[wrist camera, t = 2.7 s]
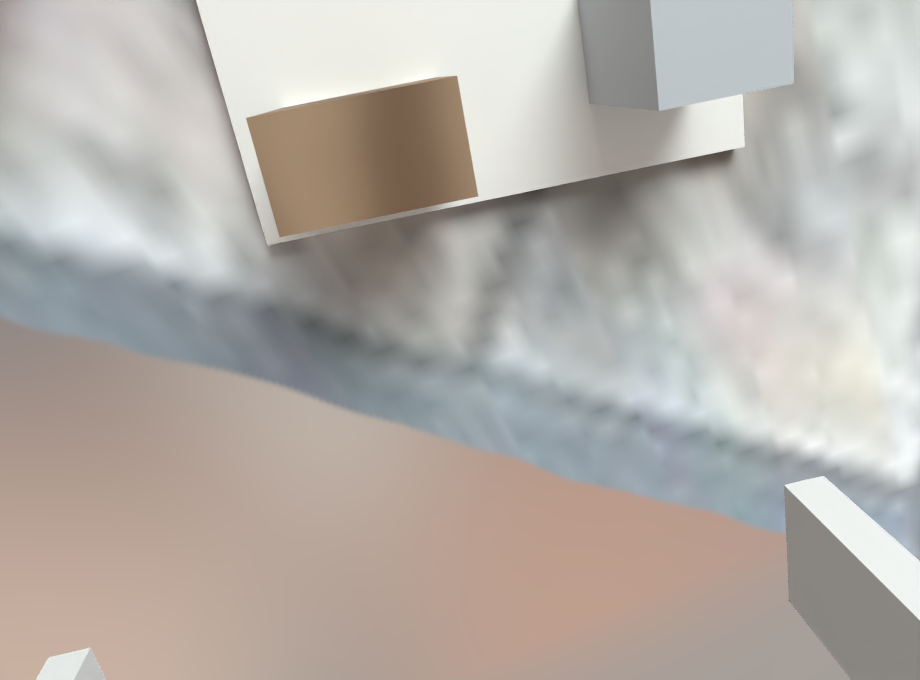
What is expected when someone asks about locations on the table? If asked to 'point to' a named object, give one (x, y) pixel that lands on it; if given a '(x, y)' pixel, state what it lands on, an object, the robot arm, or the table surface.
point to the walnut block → (364, 155)
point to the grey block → (684, 50)
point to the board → (479, 77)
